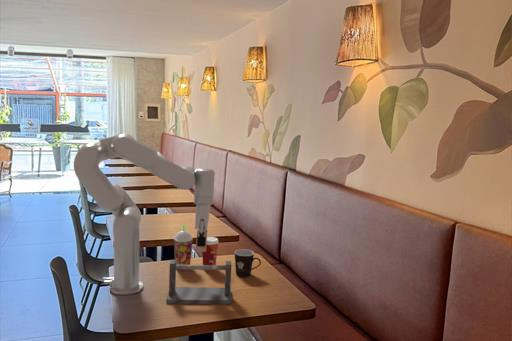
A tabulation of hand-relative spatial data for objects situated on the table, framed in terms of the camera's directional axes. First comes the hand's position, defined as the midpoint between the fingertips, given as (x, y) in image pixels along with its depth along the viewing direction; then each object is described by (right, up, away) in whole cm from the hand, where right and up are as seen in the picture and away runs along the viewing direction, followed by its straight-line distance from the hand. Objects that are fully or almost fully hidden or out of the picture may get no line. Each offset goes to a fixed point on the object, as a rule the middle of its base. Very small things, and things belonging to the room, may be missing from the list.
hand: (201, 243), depth 172 cm
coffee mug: (+17, -17, +16) cm, 29 cm away
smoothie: (-11, -15, +22) cm, 29 cm away
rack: (0, -20, -7) cm, 21 cm away
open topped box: (0, -3, 0) cm, 3 cm away
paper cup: (+1, -15, +22) cm, 27 cm away
